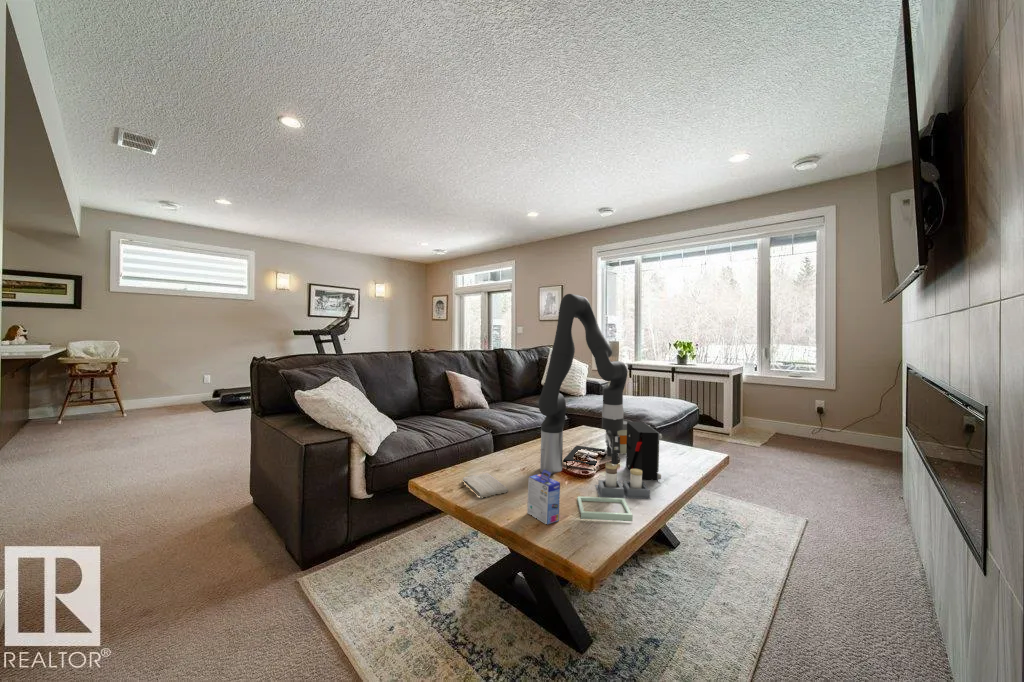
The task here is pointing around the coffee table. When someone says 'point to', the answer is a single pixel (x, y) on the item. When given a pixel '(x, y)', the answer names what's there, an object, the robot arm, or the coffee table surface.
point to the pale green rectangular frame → (604, 515)
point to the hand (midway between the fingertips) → (612, 460)
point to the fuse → (611, 475)
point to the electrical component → (643, 450)
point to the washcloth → (485, 485)
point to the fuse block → (626, 488)
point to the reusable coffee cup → (623, 437)
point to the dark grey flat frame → (576, 448)
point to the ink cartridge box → (543, 498)
